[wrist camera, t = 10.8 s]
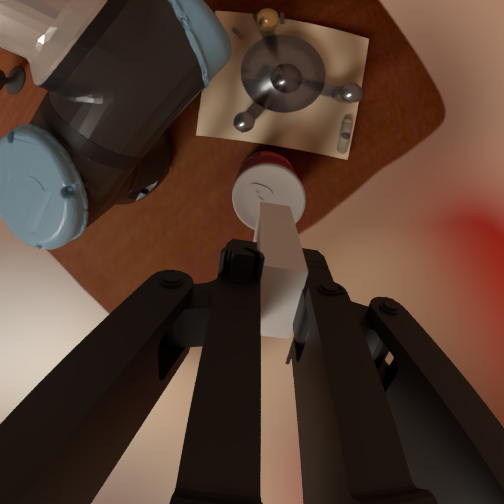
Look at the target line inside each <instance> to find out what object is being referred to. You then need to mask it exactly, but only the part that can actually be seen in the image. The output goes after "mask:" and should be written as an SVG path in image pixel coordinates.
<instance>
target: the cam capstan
mask: <svg viewBox="0 0 504 504" xmlns="http://www.w3.org/2000/svg"><path fill="white" fill-rule="evenodd" d="M256 23H257V29H258V32H259V33H260V34H261V36H262V38H263V39H261V40H259V41H258V42H256V43H255V44H254V45H253V46H251V48H250V49H249V50H248V51H247V53H246V54H245V56H244V58H243V61H242V64H241V80H242V83H243V86H244V88H245V90H246V92H247V94H248V95H249V96H250V97H251V99H252V100H253V101H254V103H253V104H252V105H251V106H250V107H249V108H248V109H247V110H246V111H245V112H240V113H238V114H237V115H236V116H235V118H234V121H233V123H234V124H233V126H234V127H235V128H236V129H237V130H238V131H240V132H241V133H244V132H248V131H250V130H251V129H252V128H253V127H254V124H255V120H256V119H257V118H258V117H259V115H260V114H261V113H262V112H263V111H264V110H265V109H267V110H270V111H274V112H280V113H289V112H295V111H299V110H302V109H304V108H306V107H308V106H309V105H311V104H312V103H313V102H314V101H315V100H316V99H317V98H318V97H319V95H321V96H325V97H329V98H332V99H335V100H337V101H338V102H341V103H349V104H352V102H358V101H360V100H361V99H362V97H363V90H362V88H361V87H360V86H359V85H358V84H356V83H348V84H344V85H340V86H335V85H331V84H328V83H325V79H326V72H325V66H324V63H323V60H322V58H321V56H320V55H319V53H318V52H317V50H316V49H315V48H314V47H313V46H312V45H310V44H309V43H308V42H306V41H304V40H303V39H301V38H298V37H295V36H291V35H283V34H280V35H276V32H275V31H276V27H277V23H278V14H277V12H276V11H274V10H273V9H269V8H266V9H262V10H261V11H259V13H258V14H257V20H256Z"/></svg>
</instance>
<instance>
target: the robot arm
mask: <svg viewBox="0 0 504 504" xmlns="http://www.w3.org/2000/svg"><path fill="white" fill-rule="evenodd" d="M0 47H1V48H3V49H6V50H8V51H10V52H13V53H15V54H17V55H19V56H22V57H24V58H26V59H27V60H28V62H29V64H30V68H31V73H32V77H33V81H34V84H36V85H37V86H39V87H41V88H44V89H46V90H48V92H47V94H46V95H45V97H44V99H43V100H42V102H41V104H40V106H39V107H38V109H37V111H36V113H35V114H34V116H33V118H32V120H31V122H30V123H29V124H22V125H19V126H17V127H16V128H14V129H12V130H11V131H10V132H8V133H7V134H5V135H4V136H3V137H2V139H1V140H0V216H1V218H2V219H3V221H4V223H5V224H6V225H7V227H8V228H9V229H10V230H11V231H12V233H13V234H14V235H15V236H17V237H18V238H19V239H20V240H22V241H23V242H25V243H26V244H28V245H30V246H33V247H35V248H39V249H41V248H44V249H49V250H50V249H56V248H59V247H61V246H63V245H65V244H66V243H68V242H69V241H70V240H73V239H76V238H78V236H80V235H81V234H82V233H83V232H84V230H85V229H86V228H87V227H88V226H89V225H90V224H92V223H93V222H94V221H95V220H97V219H98V218H99V217H100V216H101V215H103V214H104V213H105V212H106V211H108V210H109V209H110V208H111V207H113V206H114V205H123V204H130V203H133V202H136V201H139V200H141V199H143V198H144V197H146V196H147V195H149V194H150V193H151V192H152V191H153V190H155V189H156V188H157V187H158V186H159V184H160V183H161V182H162V181H163V179H164V178H165V176H166V174H167V172H168V169H169V166H170V163H171V157H172V142H171V137H170V133H169V130H168V127H169V126H170V125H171V123H172V122H173V121H174V120H175V119H176V118H177V117H178V115H179V114H180V113H181V112H182V111H183V110H184V109H185V108H186V107H187V105H188V104H189V103H190V102H191V101H192V100H193V99H194V98H195V97H196V96H197V95H198V94H199V93H200V91H205V90H206V89H207V88H208V86H209V82H210V81H211V80H212V79H213V78H214V77H215V76H216V74H217V73H218V72H219V71H220V70H221V69H222V68H223V67H224V66H225V65H226V64H227V62H228V61H229V59H230V57H231V52H232V46H231V40H230V38H229V35H228V33H227V31H226V30H225V28H224V26H223V25H222V23H221V22H220V20H219V19H218V17H217V16H216V15H215V14H214V12H213V11H212V10H211V9H210V7H209V6H208V5H207V4H206V3H205V2H204V1H203V0H0ZM292 329H293V331H294V338H293V341H292V344H291V347H290V351H289V354H288V357H287V361H286V364H289V362H290V359H292V366H293V377H294V387H295V399H296V409H297V421H298V433H299V446H300V459H301V472H302V487H303V503H304V504H504V428H503V426H502V425H501V424H500V422H499V421H498V420H497V418H496V417H495V416H494V414H493V413H492V412H491V411H490V409H489V408H488V407H487V405H486V404H485V403H484V401H483V400H482V399H481V397H480V396H479V395H478V394H477V392H476V391H475V390H474V389H473V387H472V386H471V385H470V384H469V382H468V381H467V380H466V379H465V377H464V376H463V375H462V374H461V373H460V371H459V370H458V369H457V368H456V366H454V364H453V363H452V362H451V360H450V359H449V358H448V357H447V356H446V355H445V353H444V352H443V351H442V350H441V349H440V348H439V346H438V345H437V344H436V343H435V342H434V341H433V339H432V338H431V337H430V336H429V335H428V334H427V333H426V331H425V330H424V329H423V328H422V327H421V326H420V325H419V323H418V322H417V321H416V320H415V319H414V318H413V317H412V316H411V315H410V314H409V312H408V311H407V310H406V309H405V308H404V307H403V306H402V305H400V303H398V302H396V301H394V300H393V299H391V298H387V297H376V298H373V299H372V300H371V302H370V304H369V307H368V306H364V305H361V304H358V303H355V302H352V301H351V300H350V298H349V296H348V293H347V291H346V290H345V288H343V287H342V286H341V285H339V284H337V283H335V282H334V281H333V278H332V276H331V273H330V271H329V269H328V265H327V263H326V260H325V258H324V256H323V255H322V254H320V252H318V251H317V250H311V249H304V248H302V247H301V243H300V240H299V236H298V232H297V229H296V225H295V222H294V218H293V215H292V211H291V208H290V206H285V205H279V204H273V203H266V202H260V204H259V210H258V216H257V222H256V228H255V234H254V240H253V242H251V241H244V240H237V239H232V240H231V241H230V242H228V243H227V245H226V247H225V248H223V249H222V251H221V255H220V263H219V272H218V278H217V279H215V280H213V281H211V282H208V283H202V284H194V283H193V279H192V278H191V277H190V276H189V275H188V274H186V273H184V272H181V271H176V270H164V271H159V272H157V273H155V274H153V275H152V276H151V277H150V278H148V279H147V280H146V281H145V282H144V283H143V284H142V285H141V286H140V287H139V288H137V289H136V290H135V291H134V292H133V293H132V294H131V295H130V296H129V297H128V298H127V299H125V300H124V301H123V302H122V303H121V304H120V305H119V306H118V307H117V308H116V309H115V310H114V311H113V312H111V313H110V314H109V315H108V316H107V317H106V318H105V319H104V320H103V321H102V322H101V323H100V324H99V325H98V326H97V327H96V328H95V329H94V330H92V332H90V334H88V335H87V336H86V337H85V338H84V339H83V340H82V341H81V342H80V343H79V344H78V345H77V346H76V347H75V348H74V349H73V350H72V351H71V352H70V353H69V354H68V355H67V356H66V357H65V358H64V359H63V360H62V361H61V362H60V363H59V364H58V365H57V366H56V367H55V368H54V369H53V370H52V371H51V372H50V373H49V374H48V375H47V376H46V377H45V378H44V379H43V380H42V381H41V382H40V383H39V384H38V385H37V386H36V387H35V388H34V389H33V390H32V391H31V392H30V393H29V394H28V395H27V396H26V397H25V398H24V399H23V400H22V402H21V403H20V404H19V405H18V406H17V407H16V408H15V409H14V410H13V411H12V412H11V413H10V414H9V415H8V416H7V418H6V419H5V420H4V421H3V422H2V423H1V424H0V504H91V503H92V501H93V499H94V498H95V496H96V495H97V493H98V492H99V490H100V489H101V487H102V486H103V484H104V483H105V481H106V479H107V478H108V476H109V475H110V473H111V472H112V470H113V469H114V467H115V466H116V464H117V462H118V461H119V459H120V458H121V456H122V455H123V453H124V452H125V450H126V449H127V447H128V446H129V444H130V442H131V441H132V439H133V438H134V436H135V435H136V433H137V432H138V430H139V429H140V427H141V425H142V424H143V422H144V421H145V419H146V418H147V416H148V415H149V413H150V411H151V410H152V408H153V407H154V405H155V404H156V402H157V401H158V399H159V398H160V396H161V395H162V393H163V391H164V390H165V388H166V387H167V385H168V384H169V382H170V381H171V379H172V377H173V376H174V374H175V373H176V371H177V370H178V368H179V367H180V365H181V363H182V362H183V361H184V359H185V357H186V356H187V354H188V353H189V350H190V347H198V346H203V347H202V353H201V357H200V362H199V367H198V372H197V377H196V382H195V387H194V392H193V397H192V402H191V407H190V412H189V418H188V423H187V428H186V433H185V439H184V444H183V450H182V455H181V460H180V466H179V472H178V478H177V483H176V488H175V491H174V493H173V495H172V497H171V501H170V504H263V503H262V502H261V497H260V459H261V457H260V453H261V336H270V337H279V338H288V339H289V338H290V336H291V331H292ZM389 351H390V352H391V354H392V355H393V356H394V359H393V361H392V362H391V364H390V365H388V364H387V362H386V361H385V358H386V357H387V355H388V353H389Z"/></svg>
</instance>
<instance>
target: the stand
mask: <svg viewBox="0 0 504 504" xmlns="http://www.w3.org/2000/svg"><path fill="white" fill-rule="evenodd" d="M257 14H258V13H256V14H249V13H239V12H228V11H215V15H216V16H217V17H218V19H219V20H220V22H221V23H222V25H223V26H224V28H225V30H226V31H227V33H228V35H229V38H230V40H231V46H232V52H231V57H230V59H229V61H228V62H227V64H226V65H225V66H224V67H223V68H222V69H221V70H220V71H219V72H218V73H217V74H216V76H215V77H214V78H213V79H212V80H211V81H210V82H209V86H208V88H207V89H206V90H205V91H202V94H201V101H200V109H199V116H198V124H197V132H196V135H200V136H209V137H217V138H226V139H233V140H241V141H248V142H254V143H261V144H267V145H274V146H280V147H285V148H291V149H297V150H302V151H307V152H312V153H317V154H322V155H327V156H332V157H337V158H341V159H346V160H347V159H348V155H349V150H350V145H351V140H352V135H353V130H354V125H355V120H356V115H357V110H358V104H359V101H358V102H352V104H349V103H341V102H338V101H337V100H335V99H332V98H329V97H325V96H321V95H319V97H318V98H317V99H316V100H315V101H314V102H313V103H312V104H311V105H309V106H308V107H306V108H304V109H302V110H299V111H295V112H289V113H280V112H274V111H270V110H267V109H265V110H264V111H263V112H262V113H261V114H260V115H259V117H258V118H257V119H256V120H255V124H254V127H253V128H252V129H251V130H250V131H248V132H244V133H241V132H240V131H238V130H237V129H236V128H235V127H234V126H233V124H234V123H233V121H234V118H235V116H236V115H237V114H238V113H240V112H245V111H246V110H247V109H248V108H249V107H250V106H251V105H252V104H253V103H254V101H253V100H252V99H251V97H250V96H249V95H248V94H247V92H246V90H245V88H244V86H243V83H242V80H241V64H242V61H243V58H244V56H245V54H246V53H247V51H248V50H249V49H250V48H251V46H253V45H254V44H255V43H256V42H258V41H259V40H261V39H263V38H262V36H261V34H260V33H259V32H258V29H257V23H256V20H257ZM275 32H276V35H280V34H283V35H291V36H295V37H298V38H301V39H303V40H304V41H306V42H308V43H309V44H310V45H312V46H313V47H314V48H315V49H316V50H317V52H318V53H319V55H320V56H321V58H322V60H323V63H324V66H325V72H326V79H325V83H328V84H331V85H335V86H340V85H344V84H348V83H356V84H358V85H359V86H360V87H362V81H363V75H364V69H365V63H366V56H367V50H368V43H369V39H368V38H365V37H361V36H358V35H354V34H351V33H347V32H344V31H340V30H336V29H332V28H328V27H324V26H319V25H315V24H310V23H306V22H301V21H295V20H290V19H284V12H280V18H278V23H277V27H276V31H275Z"/></svg>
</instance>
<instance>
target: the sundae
mask: <svg viewBox="0 0 504 504" xmlns="http://www.w3.org/2000/svg"><path fill="white" fill-rule="evenodd" d="M24 81H25V73H24V70H23V69H22V68H21V67H15V68H14V69H12V70H11V71H10V73H9V74H8V76H7V78H6V77H5V74H4V72H3V71H2V70H0V90H1V89H2V88H3V86H4V85H5V84H6V89H7V91H8V92H9V93H10V94H12V95H13V94H17V93H18V92H19V91H20V90H21V88H22V87H23V84H24Z"/></svg>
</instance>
